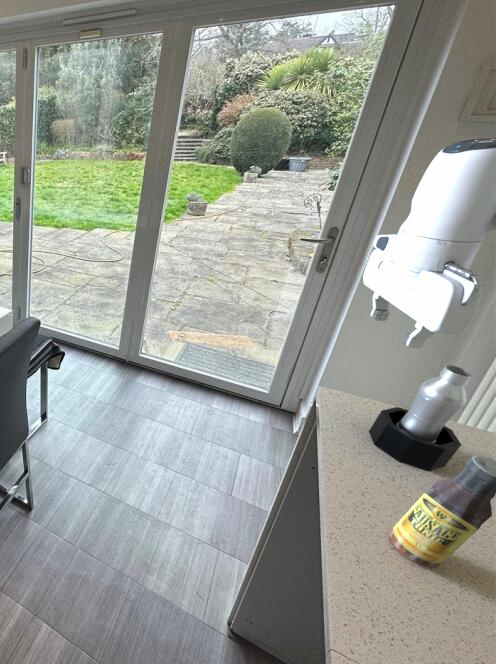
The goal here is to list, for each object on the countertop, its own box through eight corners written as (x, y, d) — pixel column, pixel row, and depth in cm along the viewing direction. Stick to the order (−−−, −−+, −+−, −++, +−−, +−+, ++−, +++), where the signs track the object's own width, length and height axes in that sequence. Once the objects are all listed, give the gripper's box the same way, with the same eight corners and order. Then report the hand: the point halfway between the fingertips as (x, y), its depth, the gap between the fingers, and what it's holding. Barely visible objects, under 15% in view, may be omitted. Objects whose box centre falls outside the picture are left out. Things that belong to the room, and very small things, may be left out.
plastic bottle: (421, 444, 86) (475, 367, 77) (430, 465, 81) (490, 386, 72) (381, 431, 89) (429, 356, 80) (388, 451, 84) (440, 373, 75)
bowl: (393, 425, 91) (407, 404, 88) (455, 463, 82) (472, 441, 79) (357, 433, 89) (370, 412, 86) (417, 474, 79) (433, 452, 76)
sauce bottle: (378, 538, 67) (444, 452, 58) (401, 526, 69) (468, 441, 60) (428, 578, 62) (509, 489, 53) (451, 563, 64) (533, 476, 55)
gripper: (515, 278, 52) (463, 368, 58) (414, 236, 70) (382, 308, 76) (453, 274, 54) (409, 362, 60) (370, 233, 72) (342, 304, 78)
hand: (393, 331), depth 68 cm, fingers open, 8 cm apart
